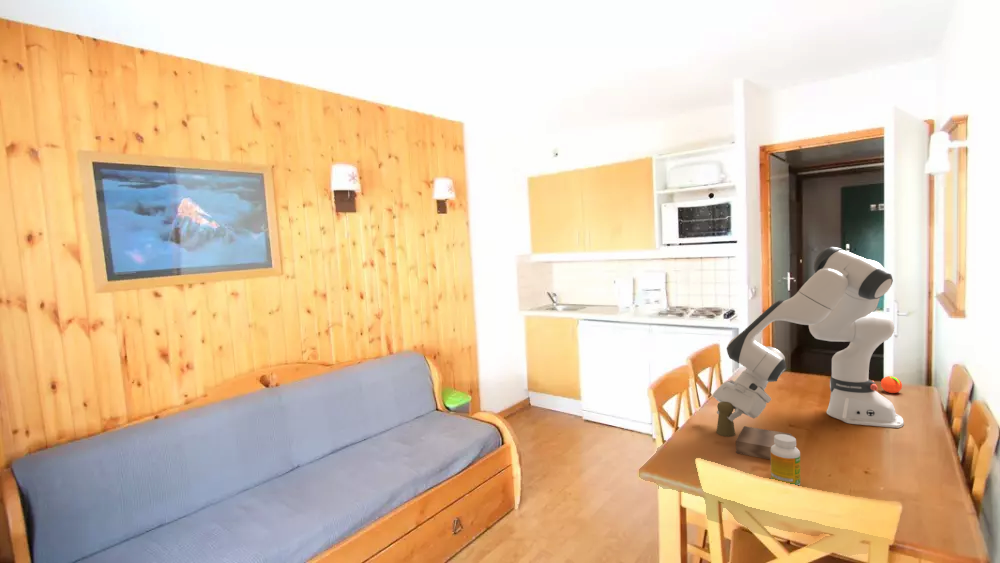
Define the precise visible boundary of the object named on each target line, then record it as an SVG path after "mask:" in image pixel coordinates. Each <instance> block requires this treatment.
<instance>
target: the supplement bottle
mask: <svg viewBox="0 0 1000 563" xmlns="http://www.w3.org/2000/svg"><path fill="white" fill-rule="evenodd" d="M774 443H775V444H774V445H773V446H772V447H771V460H770V480H771V479H775V480H778V481H782V482H786V483H790V484H795V485H799V486H800V485H801V451H800V450H799V448H798V447H797V438H795V436H793V435H792V436H790V435H785V434H777V435H775V436H774Z"/></svg>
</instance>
